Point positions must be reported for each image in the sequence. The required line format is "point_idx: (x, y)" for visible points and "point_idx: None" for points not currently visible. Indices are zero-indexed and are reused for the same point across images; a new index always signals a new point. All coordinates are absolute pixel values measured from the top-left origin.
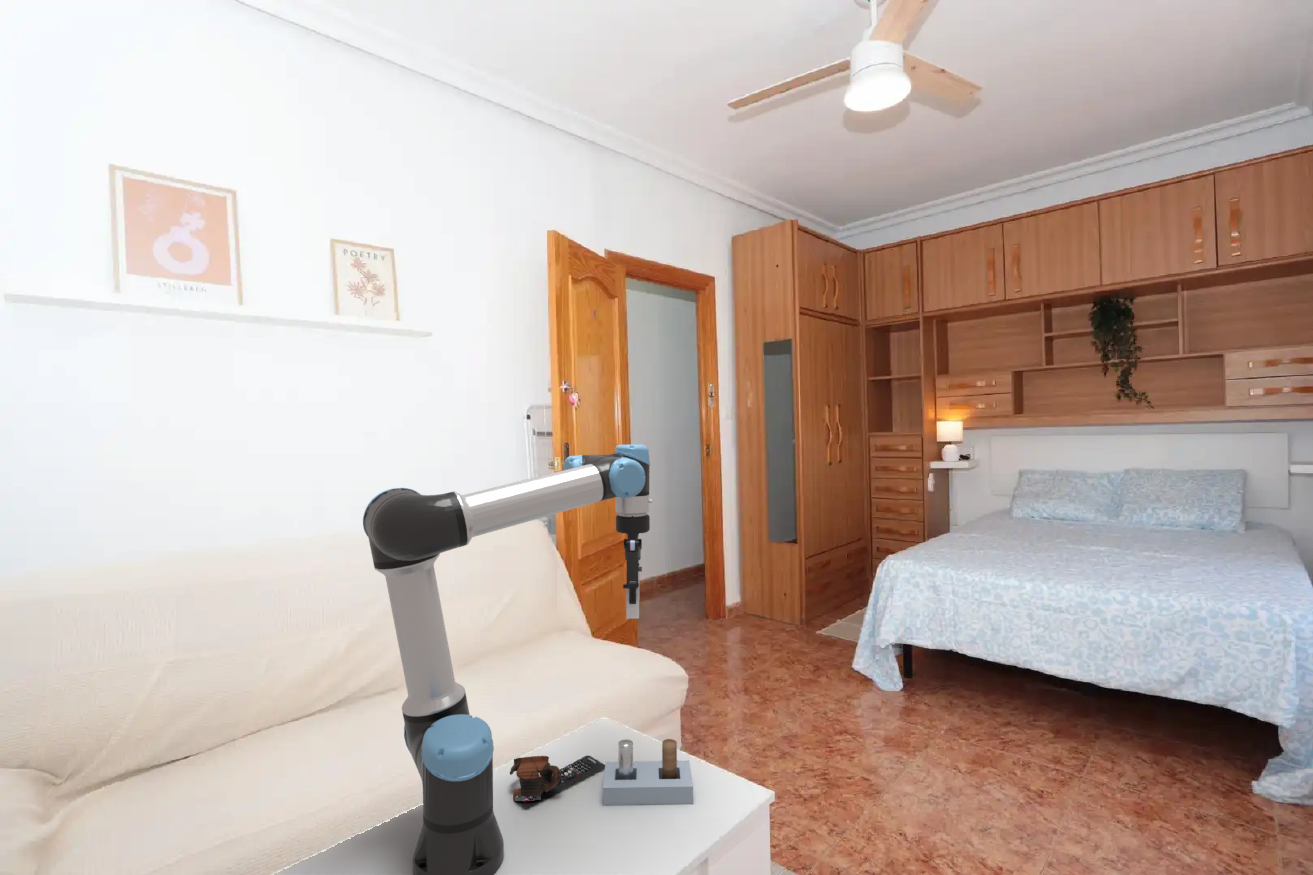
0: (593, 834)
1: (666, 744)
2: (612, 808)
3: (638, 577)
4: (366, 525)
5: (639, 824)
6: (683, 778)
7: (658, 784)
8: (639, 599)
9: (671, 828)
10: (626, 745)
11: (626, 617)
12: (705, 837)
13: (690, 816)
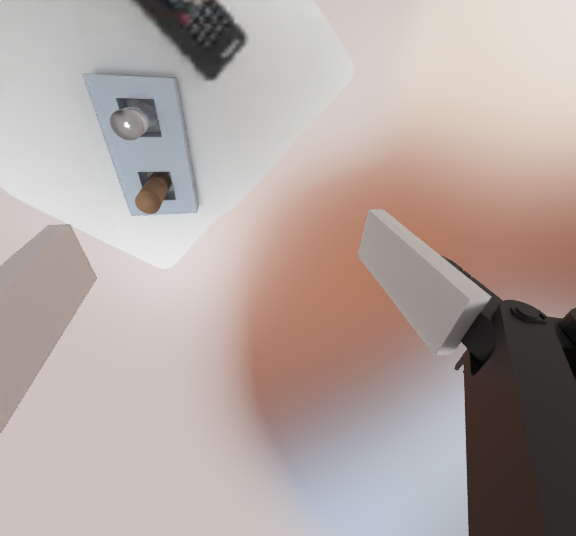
0: (3, 57)
1: (140, 198)
2: None
3: (418, 329)
4: None
5: (64, 136)
6: None
7: (123, 171)
8: (362, 258)
9: (72, 180)
10: (115, 127)
11: (44, 228)
12: (69, 218)
13: (107, 203)
